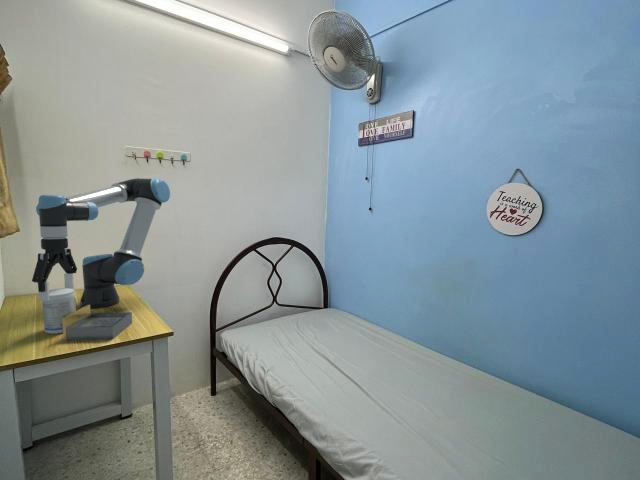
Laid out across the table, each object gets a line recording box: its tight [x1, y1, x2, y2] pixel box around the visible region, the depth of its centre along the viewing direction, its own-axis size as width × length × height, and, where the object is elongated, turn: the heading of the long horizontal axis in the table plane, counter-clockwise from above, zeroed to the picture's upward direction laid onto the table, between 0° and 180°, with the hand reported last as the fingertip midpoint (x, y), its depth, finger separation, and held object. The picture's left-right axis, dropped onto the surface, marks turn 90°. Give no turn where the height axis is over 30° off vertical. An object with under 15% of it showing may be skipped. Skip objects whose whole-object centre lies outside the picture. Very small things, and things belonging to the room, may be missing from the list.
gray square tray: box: [62, 305, 133, 342], centre depth 118 cm, size 15×16×8 cm
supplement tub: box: [41, 287, 77, 335], centre depth 118 cm, size 10×10×15 cm
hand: (57, 295), depth 117 cm, fingers open, 13 cm apart
